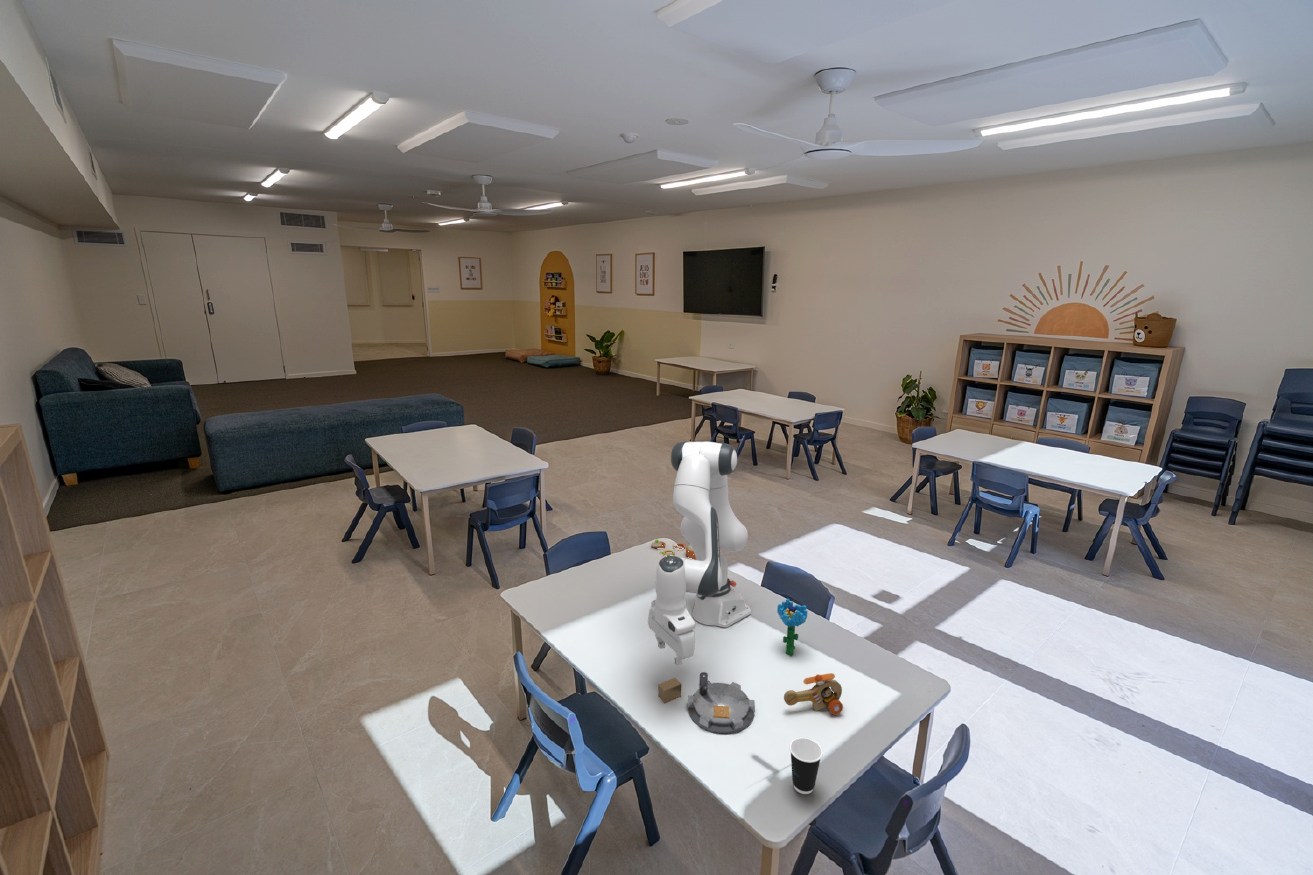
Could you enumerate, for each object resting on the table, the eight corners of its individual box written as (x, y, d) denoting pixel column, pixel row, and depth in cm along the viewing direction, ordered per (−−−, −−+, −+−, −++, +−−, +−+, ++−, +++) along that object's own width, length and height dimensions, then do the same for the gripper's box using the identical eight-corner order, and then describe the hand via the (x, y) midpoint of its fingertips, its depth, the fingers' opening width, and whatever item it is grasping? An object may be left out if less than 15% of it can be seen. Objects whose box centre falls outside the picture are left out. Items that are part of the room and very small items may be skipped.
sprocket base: (726, 681, 180) (727, 678, 180) (767, 718, 164) (767, 715, 164) (675, 702, 171) (675, 699, 171) (713, 743, 155) (713, 740, 155)
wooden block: (675, 691, 176) (675, 677, 175) (681, 698, 173) (681, 683, 172) (658, 698, 173) (658, 683, 172) (664, 705, 170) (664, 690, 169)
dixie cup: (781, 787, 141) (783, 749, 139) (796, 768, 147) (799, 732, 144) (810, 805, 136) (813, 766, 134) (825, 785, 142) (828, 748, 139)
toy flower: (784, 642, 201) (787, 595, 197) (808, 653, 195) (811, 604, 191) (770, 654, 194) (773, 605, 190) (794, 665, 189) (798, 615, 184)
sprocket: (689, 684, 177) (689, 661, 175) (752, 688, 175) (753, 665, 173) (686, 726, 160) (686, 701, 158) (756, 731, 158) (757, 706, 156)
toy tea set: (707, 551, 275) (707, 532, 272) (706, 565, 260) (706, 545, 257) (652, 548, 277) (652, 529, 275) (648, 562, 262) (648, 543, 260)
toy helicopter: (845, 713, 167) (848, 678, 164) (788, 722, 163) (791, 686, 160) (833, 697, 173) (836, 663, 170) (778, 705, 170) (780, 671, 167)
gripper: (643, 599, 173) (642, 641, 176) (680, 632, 156) (679, 677, 159) (661, 594, 176) (660, 635, 179) (699, 626, 159) (698, 670, 162)
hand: (669, 655), depth 169 cm, fingers open, 8 cm apart
